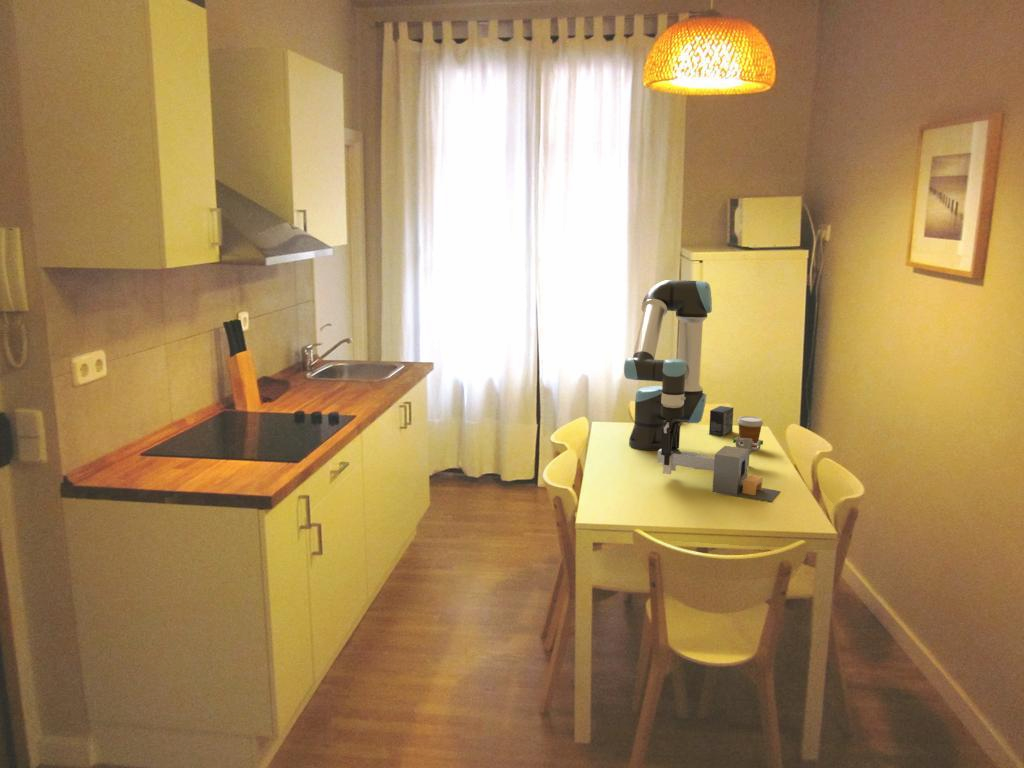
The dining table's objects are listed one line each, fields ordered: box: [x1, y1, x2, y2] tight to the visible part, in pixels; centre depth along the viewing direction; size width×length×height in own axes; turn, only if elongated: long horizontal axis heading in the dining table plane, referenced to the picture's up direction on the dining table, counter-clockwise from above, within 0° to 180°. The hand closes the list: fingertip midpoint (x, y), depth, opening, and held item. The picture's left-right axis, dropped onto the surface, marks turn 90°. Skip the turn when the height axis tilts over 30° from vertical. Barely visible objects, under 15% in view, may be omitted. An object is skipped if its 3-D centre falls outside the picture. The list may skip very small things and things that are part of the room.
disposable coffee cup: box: [737, 415, 764, 452], centre depth 328 cm, size 10×10×12 cm
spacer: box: [743, 474, 764, 495], centre depth 278 cm, size 4×7×4 cm, turn 145°
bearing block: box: [712, 445, 749, 498], centre depth 280 cm, size 8×12×13 cm, turn 151°
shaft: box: [656, 448, 715, 472], centre depth 285 cm, size 26×4×4 cm, turn 61°
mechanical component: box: [732, 436, 764, 466], centre depth 306 cm, size 3×10×10 cm, turn 78°
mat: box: [737, 487, 781, 503], centre depth 276 cm, size 12×12×1 cm
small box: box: [708, 405, 734, 437], centre depth 351 cm, size 11×6×10 cm, turn 144°
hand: (669, 471), depth 290 cm, fingers closed on shaft, 4 cm apart
